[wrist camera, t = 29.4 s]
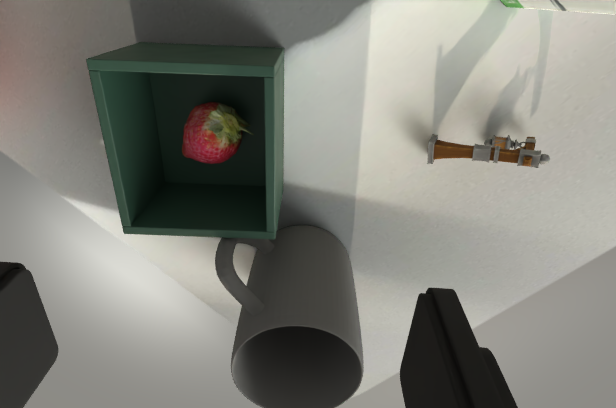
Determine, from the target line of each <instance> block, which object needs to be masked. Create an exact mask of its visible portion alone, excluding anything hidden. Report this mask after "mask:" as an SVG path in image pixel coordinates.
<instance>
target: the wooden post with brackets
mask: <svg viewBox="0 0 616 408" xmlns="http://www.w3.org/2000/svg"><path fill="white" fill-rule="evenodd" d="M437 139H438V135H437V136H436V135H432V137H431V139H430V141H429V145H428V161H427V164H433V162H434V160H435V159H442V158H472V161H473V160H478V161H486V162H489V160H492V161H493V163H497V162H498V161H502V162H511V163H518V165H517V166H530V167H535V168H538V165H539V163H540V164H547V163H548V162H549V161H550V157H549V156H548V155H546V154H542V155H541V150H540V151H535V150H534V148H535V143H536V140H535V137H527V139H526V142H521V143H525V146H524V147H521V143H518V142H517V140H515V143H514V141H511V139H510V136H509V135H508V137H507V138H503V137H496V136H495V135H494V136H493V140H492V139H486V140H485V142H484V144H485V145H478V144H475V145H474V146H469V145H461V144H455V143H449V142H444V141H440V140H437ZM518 144H519V145H518ZM491 146H492V147H491ZM513 146H514V149H515V150H509V149H510V148H513ZM517 146H519V147H520V148H518V149H516V148H517Z"/></svg>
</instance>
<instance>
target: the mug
mask: <svg viewBox="0 0 616 408" xmlns="http://www.w3.org/2000/svg"><path fill="white" fill-rule="evenodd" d="M237 243H243V244H248V245H251V246H254V247H256V248H257V249H258V250H257V252H256V255H255V257H254V260H253V264H252V267H251V271H250V275H249V279H248V283H247V286H246V285H245V284H244V283H243V282H242V281H241V280H240V278H239V277H238V275H237V274H236V272H235V269H234V266H233V253H234V249H235V246H236V244H237ZM215 265H216V271H217V275H218V277H219V279H220V281H221V283H222V284H223V285H224V287H225V288H226V289H227V290H228V291H229V292H230V293H231V295H232V296H233V297H234V298H235V299H236V300H237V301H238V302H239V303H240V304H241V305H242V308H241V313H240V317H239V322H238V326H237V331H236V336H235V341H234V347H233V352H232V360H231V372H232V377H233V380H234V383H235V384H236V386H237V388H238V389H239V390H240V392H241V393H242V394H243V395H244V396H245V397H246V398H247V399H249V400H250V401H252V402H253V403H255V404H256V405H259V406H260V407H262V408H335V407H337V406H339V405H341V404H343V403H344V402H345V401H347V400H348V399H349V398H351V397H352V396H353V395H354V393H355V392H356V391H357V389H358V388H359V386H360V383H361V381H362V377H363V350H362V339H361V330H360V322H359V314H358V306H357V299H356V292H355V285H354V278H353V272H352V267H351V262H350V258H349V255H348V253H347V250H346V249H345V247H344V246H343V244H342V243H341V242H340V241H339V240H338V239H337V238H336V237H335V236H333V235H332V234H331V233H329V232H327V231H325V230H323V229H320V228H317V227H313V226H306V225H296V226H290V227H286V228H283V229H280V230H278V231H277V232H276V238H275V239H250V238H224V237H222V238H221V240H220V242H219V245H218V248H217V251H216V257H215Z"/></svg>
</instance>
